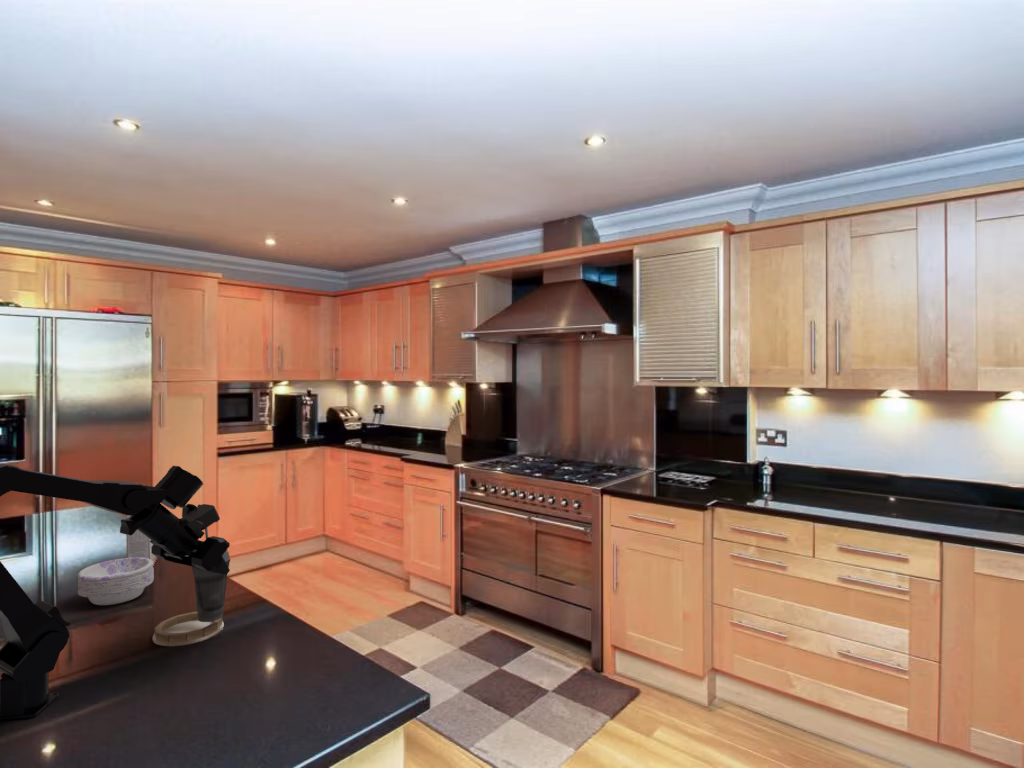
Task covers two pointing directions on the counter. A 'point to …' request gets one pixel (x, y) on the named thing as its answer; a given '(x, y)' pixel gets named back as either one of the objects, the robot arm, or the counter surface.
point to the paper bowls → (115, 580)
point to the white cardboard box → (139, 546)
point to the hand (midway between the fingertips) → (217, 569)
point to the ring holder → (185, 630)
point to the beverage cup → (210, 591)
